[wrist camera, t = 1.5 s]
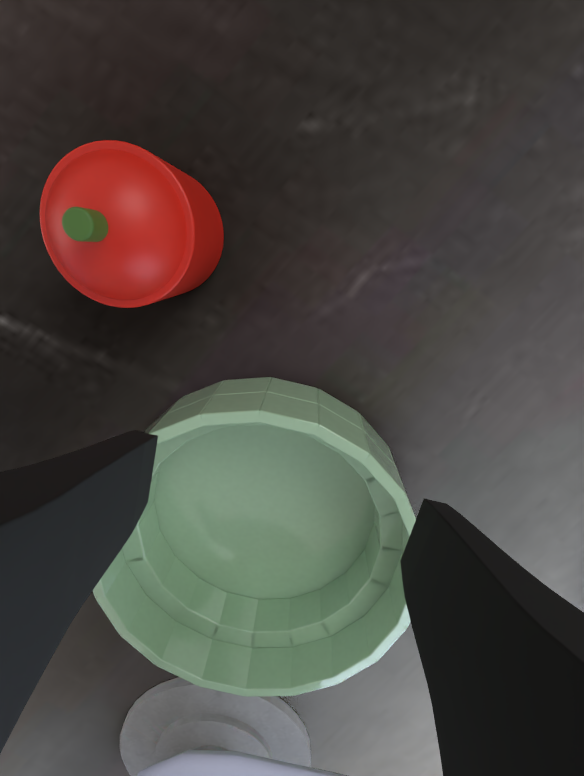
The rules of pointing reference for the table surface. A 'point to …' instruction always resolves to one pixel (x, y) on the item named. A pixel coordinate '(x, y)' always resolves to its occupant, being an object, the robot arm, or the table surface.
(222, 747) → the mate gourd
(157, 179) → the pepper
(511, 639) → the robot arm
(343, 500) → the bowl
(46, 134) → the table surface
